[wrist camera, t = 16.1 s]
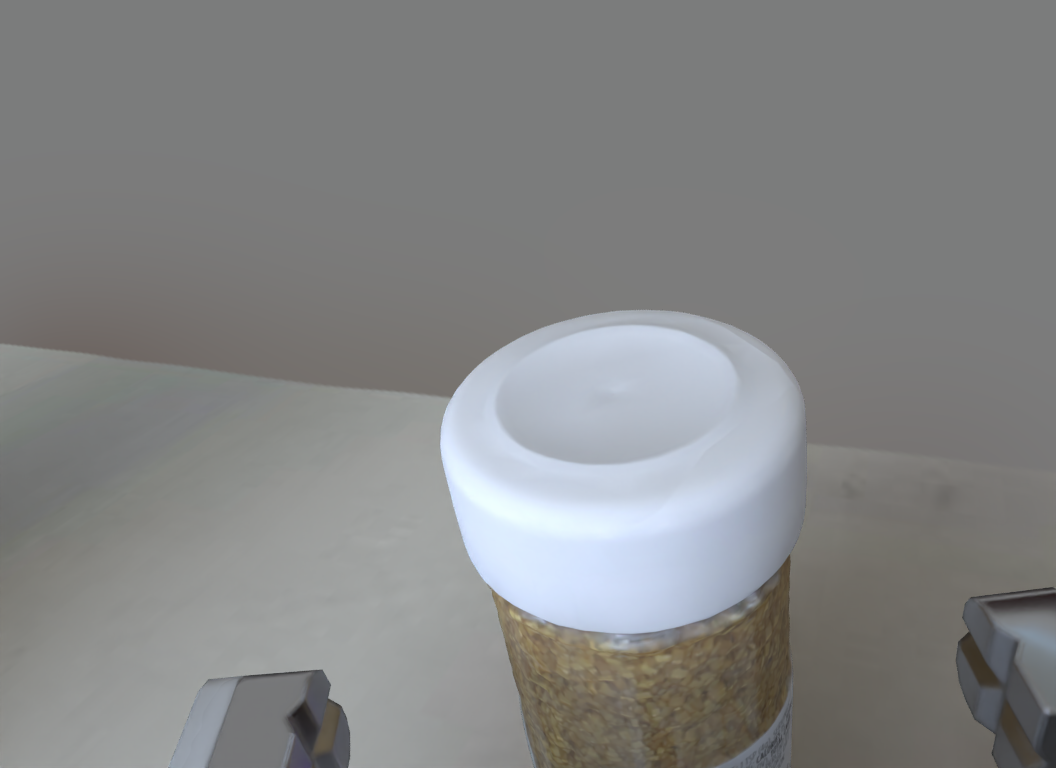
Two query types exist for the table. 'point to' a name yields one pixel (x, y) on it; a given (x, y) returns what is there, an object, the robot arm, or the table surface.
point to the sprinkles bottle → (637, 535)
